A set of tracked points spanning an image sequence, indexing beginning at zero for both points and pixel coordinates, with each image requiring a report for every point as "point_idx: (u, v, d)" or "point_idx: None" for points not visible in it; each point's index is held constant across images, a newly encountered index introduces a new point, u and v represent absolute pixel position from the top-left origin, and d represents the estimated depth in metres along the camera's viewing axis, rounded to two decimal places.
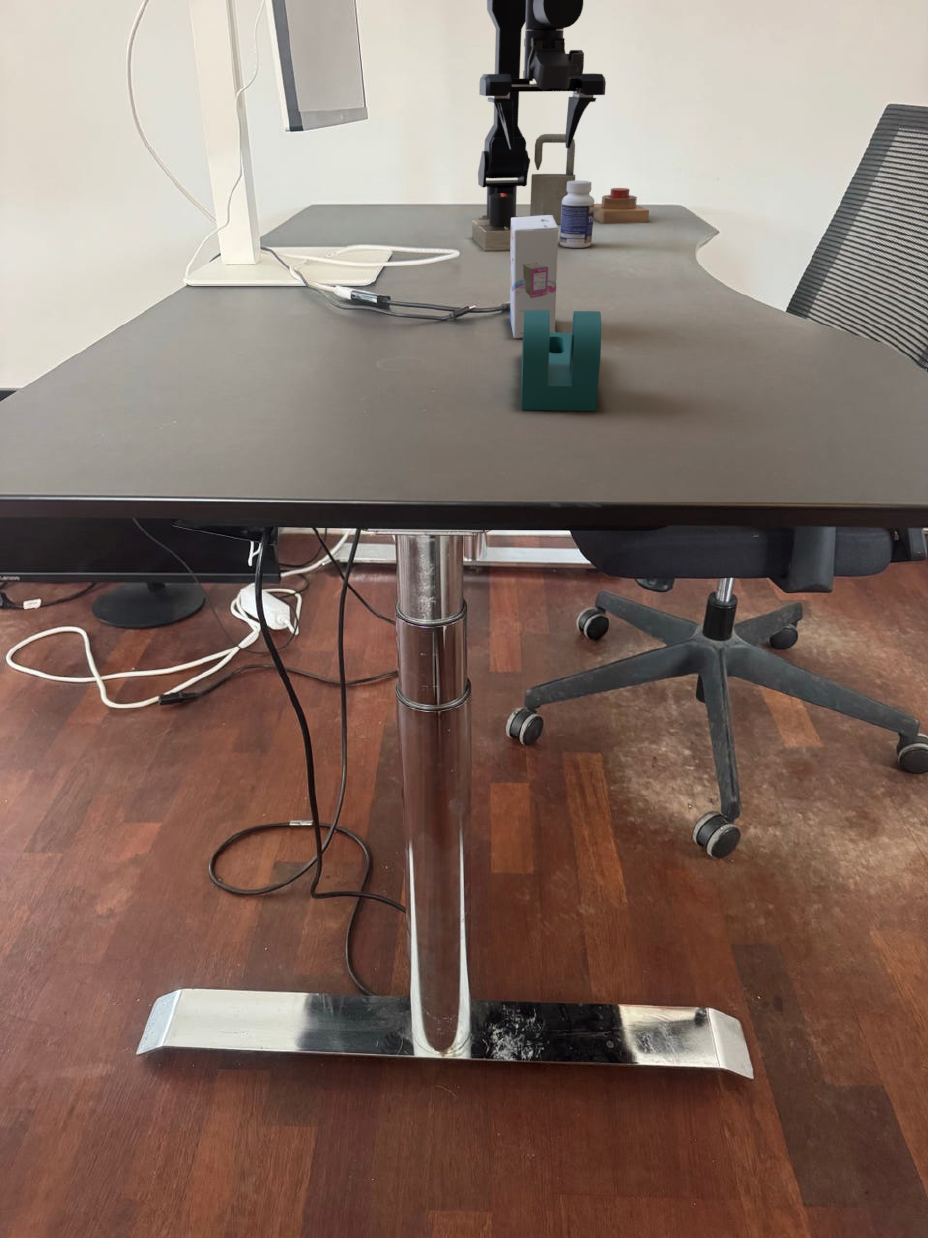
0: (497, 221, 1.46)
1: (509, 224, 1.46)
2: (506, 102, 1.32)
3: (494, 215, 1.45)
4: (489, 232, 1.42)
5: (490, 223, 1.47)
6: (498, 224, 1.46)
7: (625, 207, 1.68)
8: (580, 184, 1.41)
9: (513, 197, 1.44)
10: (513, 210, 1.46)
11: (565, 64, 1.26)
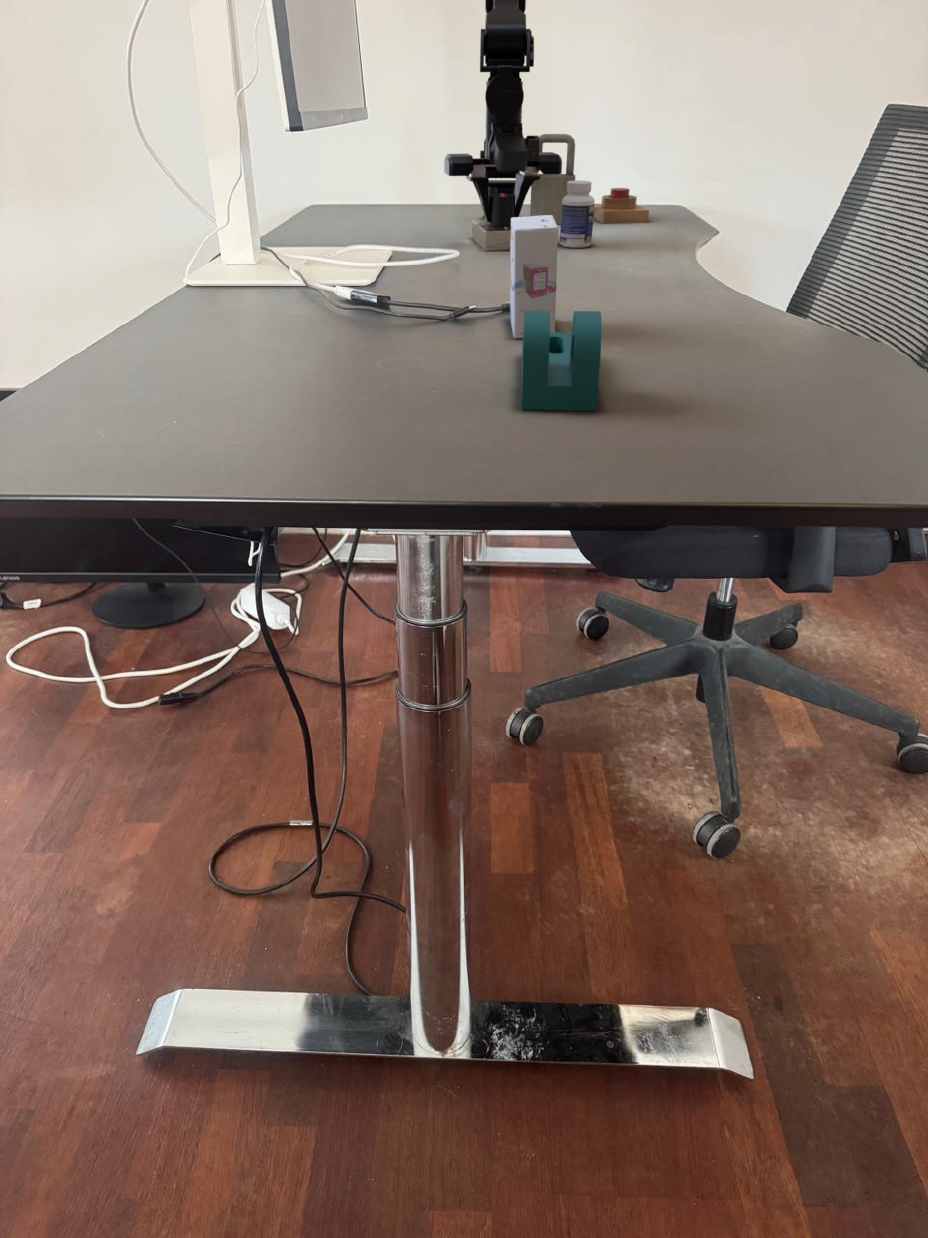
0: (497, 221, 1.46)
1: (509, 224, 1.46)
2: (482, 181, 1.41)
3: (494, 215, 1.45)
4: (489, 232, 1.42)
5: (490, 223, 1.47)
6: (498, 224, 1.46)
7: (625, 207, 1.68)
8: (580, 184, 1.41)
9: (513, 197, 1.44)
10: (513, 210, 1.46)
11: (522, 149, 1.35)
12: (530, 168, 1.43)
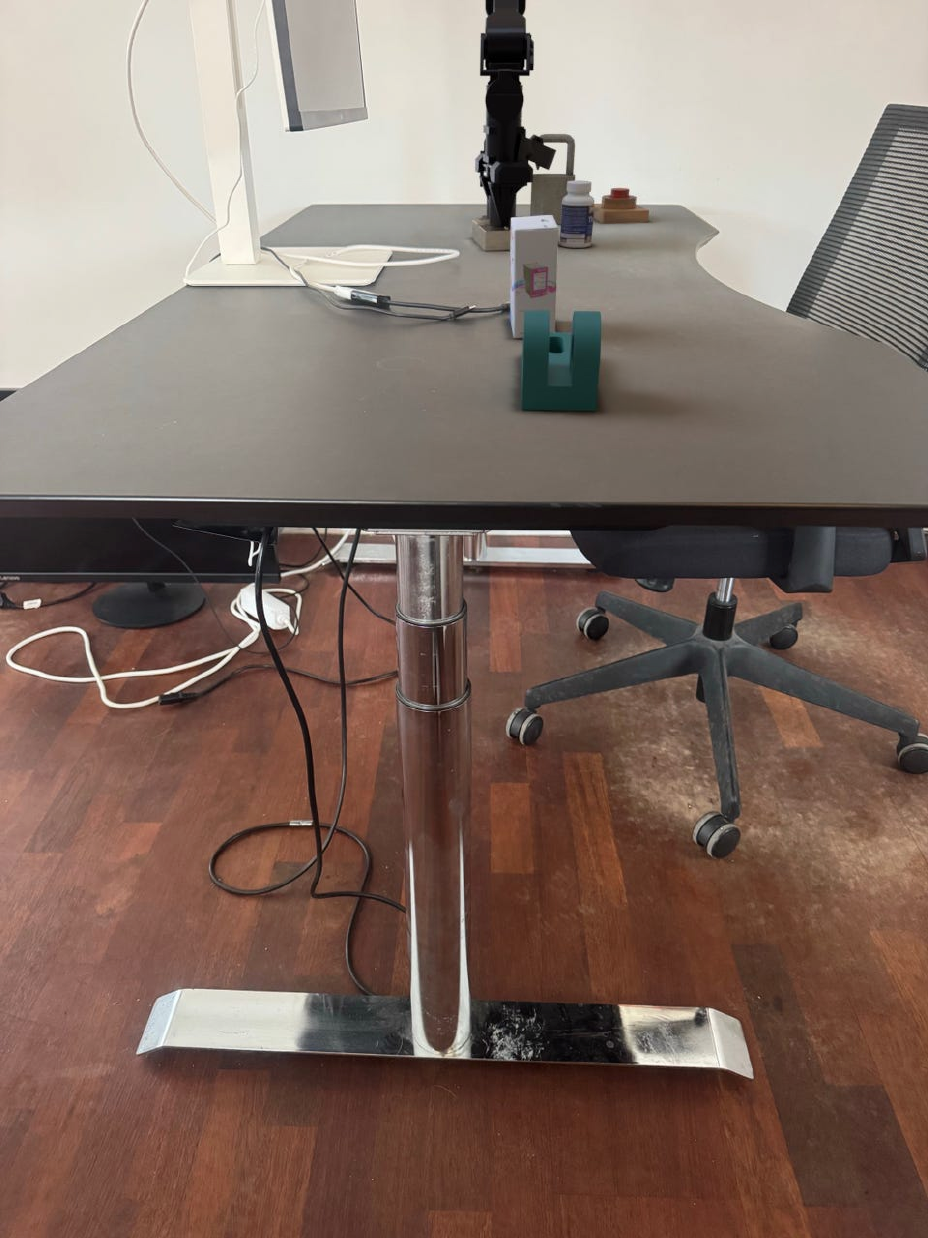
0: None
1: None
2: None
3: (512, 214, 1.46)
4: (489, 232, 1.42)
5: (508, 224, 1.46)
6: None
7: (625, 207, 1.68)
8: (580, 184, 1.41)
9: None
10: None
11: None
12: None
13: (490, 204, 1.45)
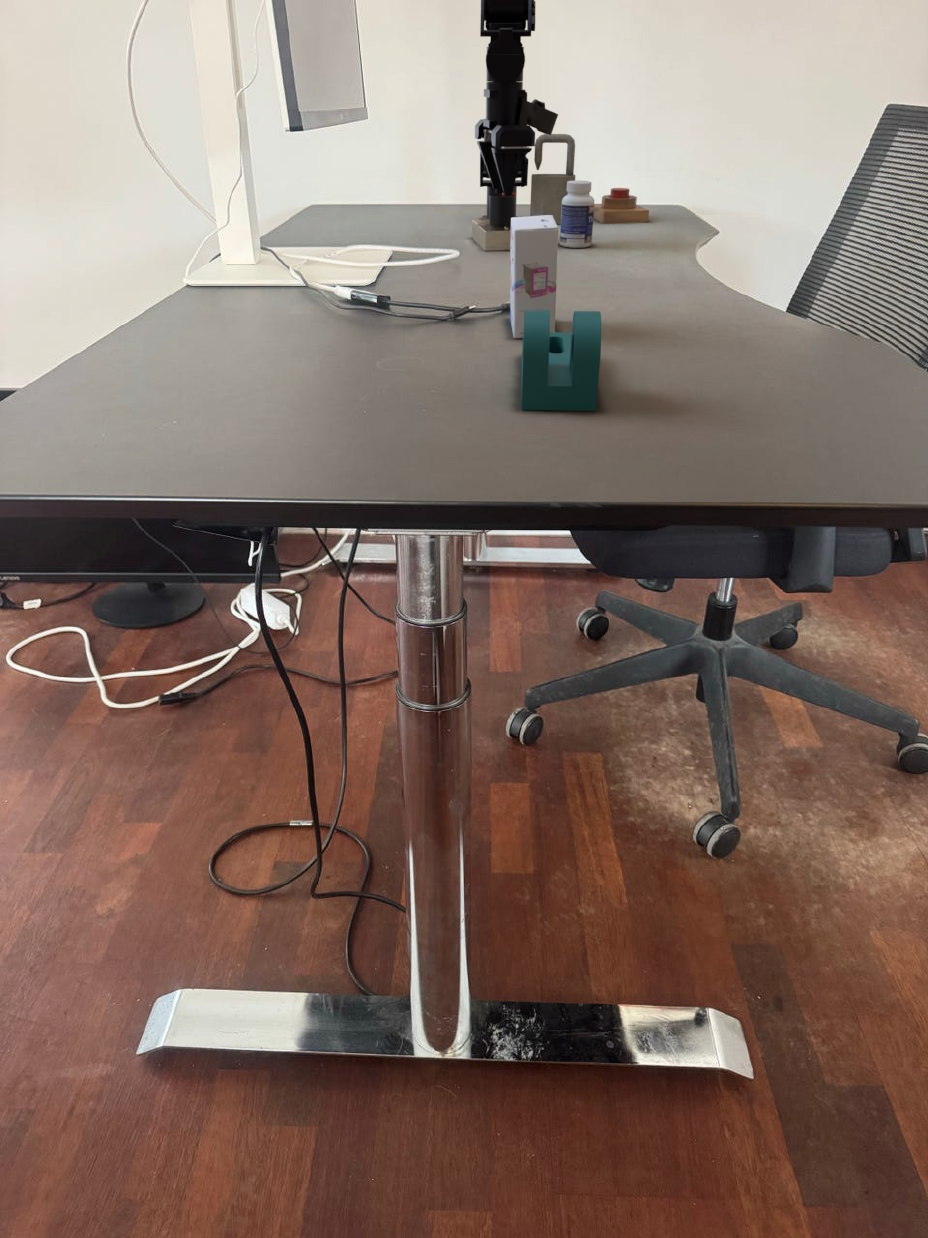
0: None
1: None
2: None
3: (512, 214, 1.46)
4: (489, 232, 1.42)
5: (508, 224, 1.46)
6: None
7: (625, 207, 1.68)
8: (580, 184, 1.41)
9: None
10: None
11: None
12: None
13: (490, 204, 1.45)
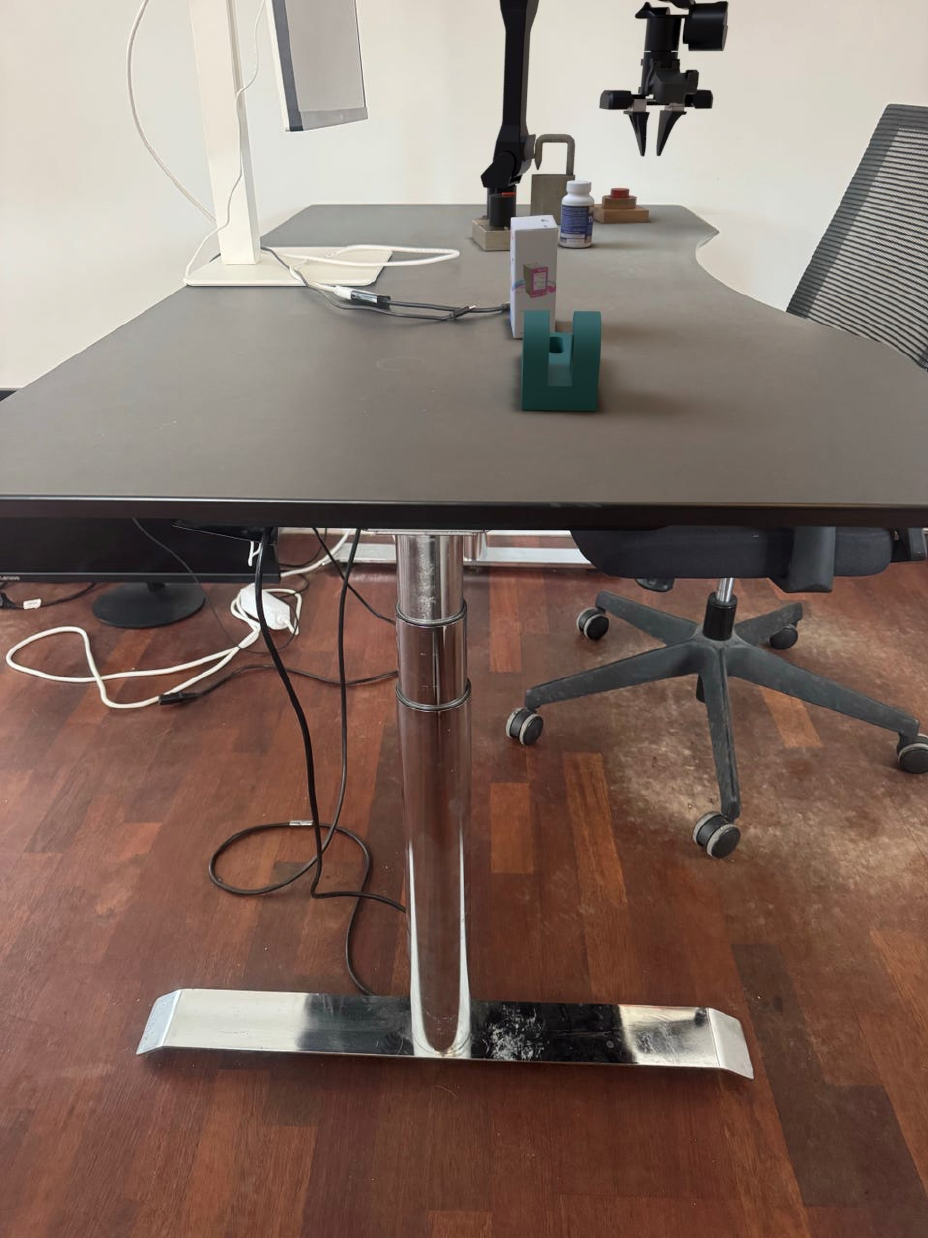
0: None
1: None
2: (643, 115, 1.49)
3: (512, 214, 1.46)
4: (489, 232, 1.42)
5: (508, 224, 1.46)
6: None
7: (625, 207, 1.68)
8: (580, 184, 1.41)
9: None
10: None
11: (683, 82, 1.43)
12: (677, 103, 1.51)
13: (490, 204, 1.45)
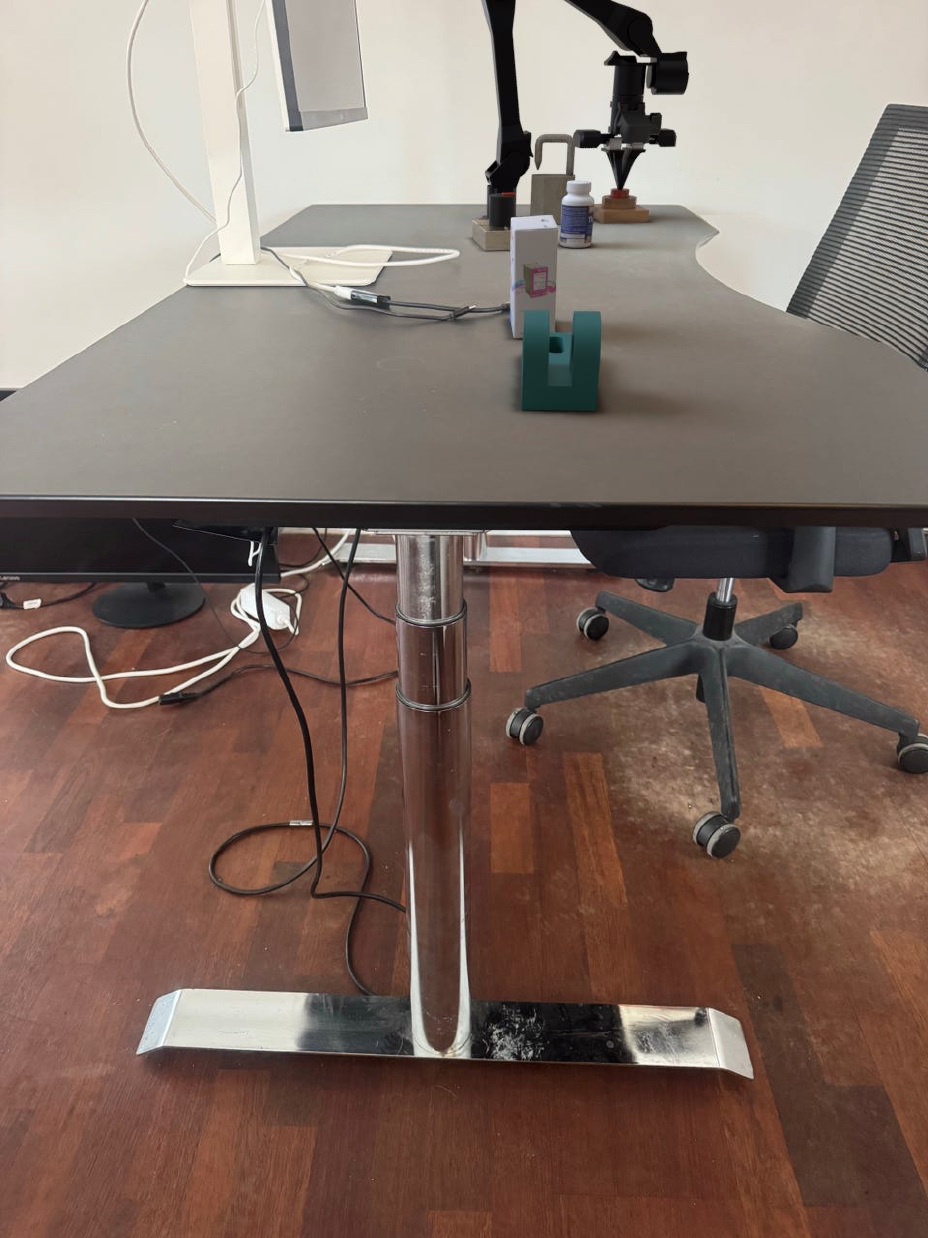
0: None
1: None
2: (618, 152, 1.63)
3: (512, 214, 1.46)
4: (489, 232, 1.42)
5: (508, 224, 1.46)
6: None
7: (625, 207, 1.68)
8: (580, 184, 1.41)
9: None
10: None
11: (647, 124, 1.56)
12: None
13: (490, 204, 1.45)
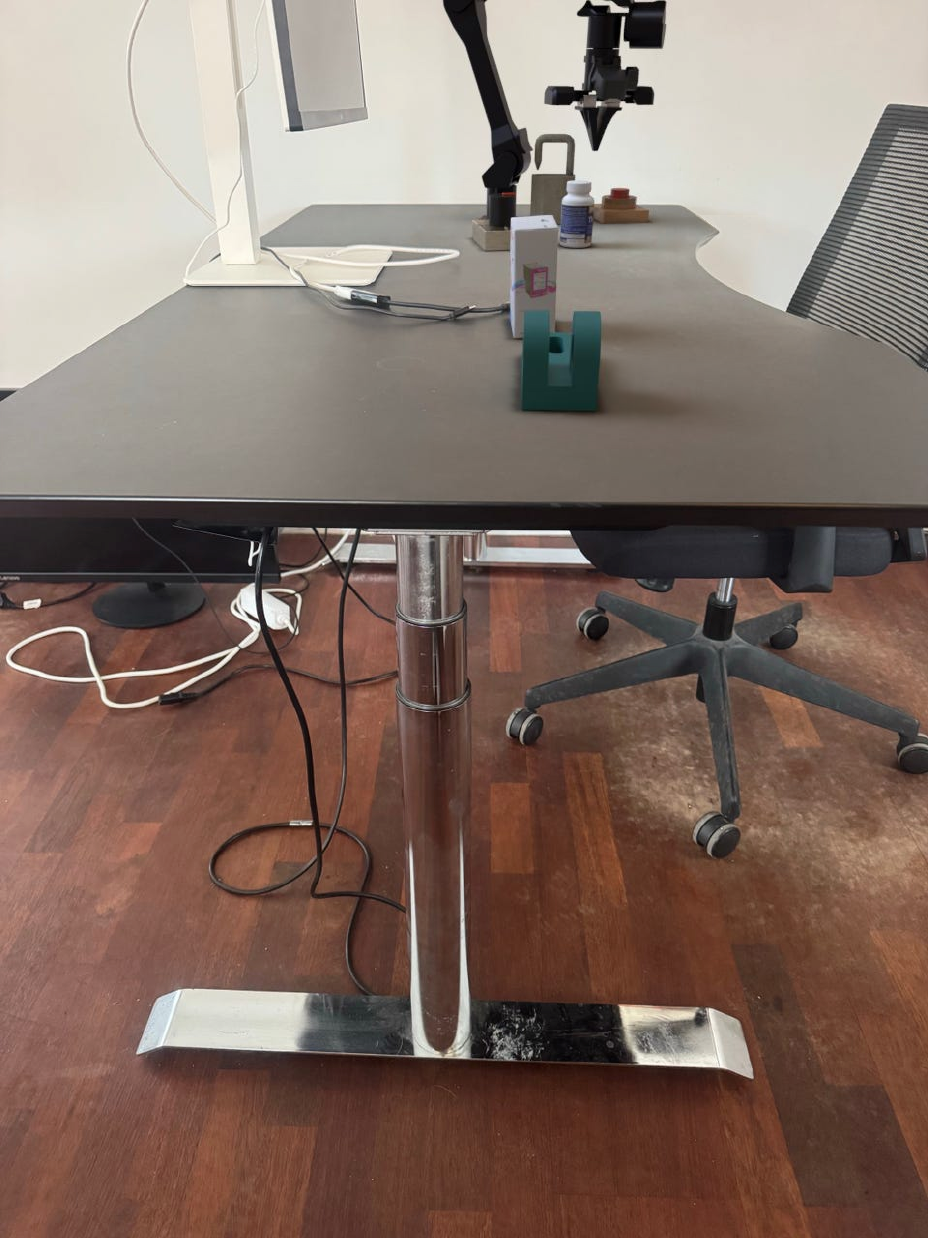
0: None
1: None
2: (593, 110, 1.53)
3: (512, 214, 1.46)
4: (489, 232, 1.42)
5: (508, 224, 1.46)
6: None
7: (625, 207, 1.68)
8: (580, 184, 1.41)
9: None
10: None
11: (623, 79, 1.47)
12: (612, 99, 1.54)
13: (490, 204, 1.45)
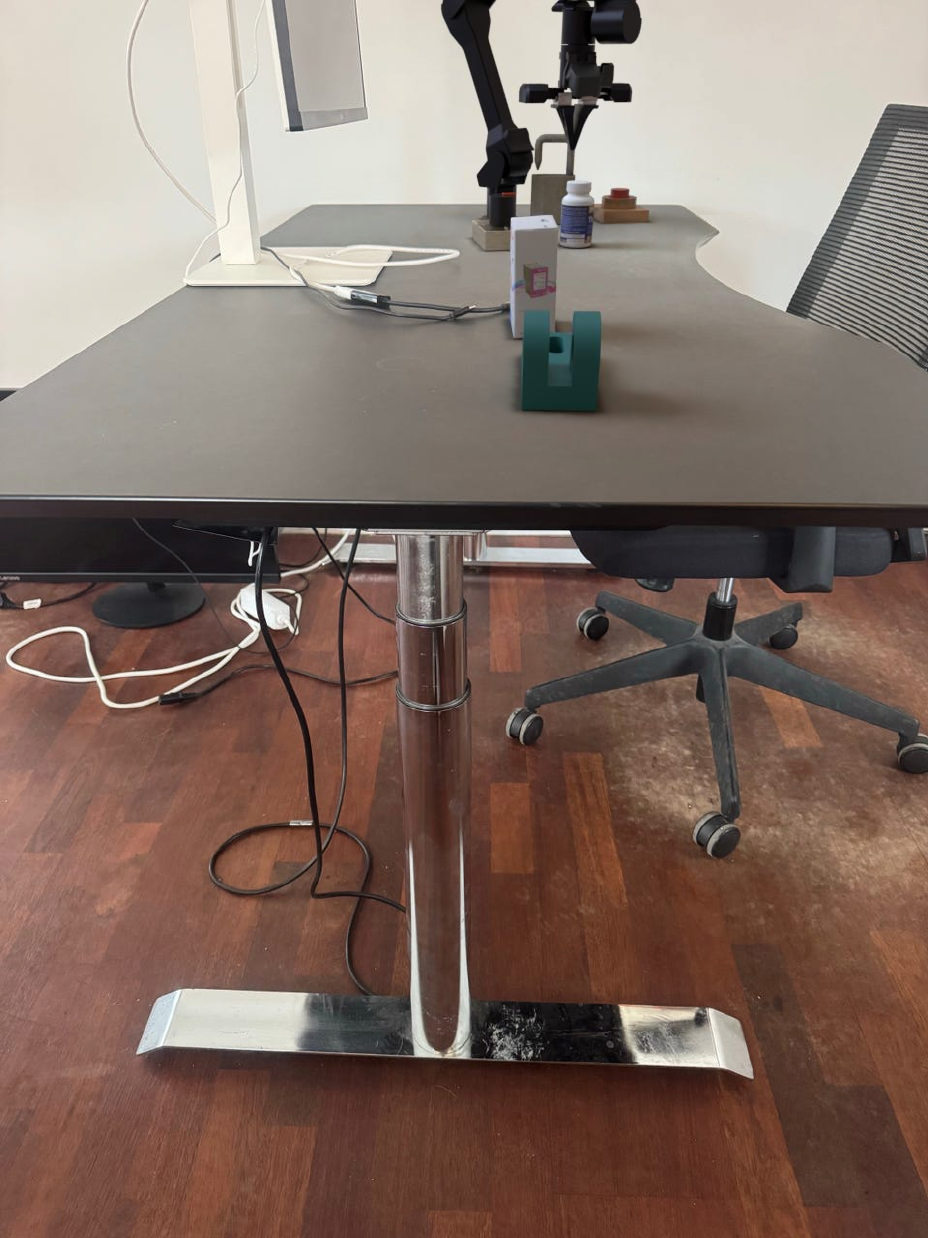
0: None
1: None
2: (568, 108, 1.48)
3: (512, 214, 1.46)
4: (489, 232, 1.42)
5: (508, 224, 1.46)
6: None
7: (625, 207, 1.68)
8: (580, 184, 1.41)
9: None
10: None
11: (597, 75, 1.42)
12: (589, 97, 1.50)
13: (490, 204, 1.45)
